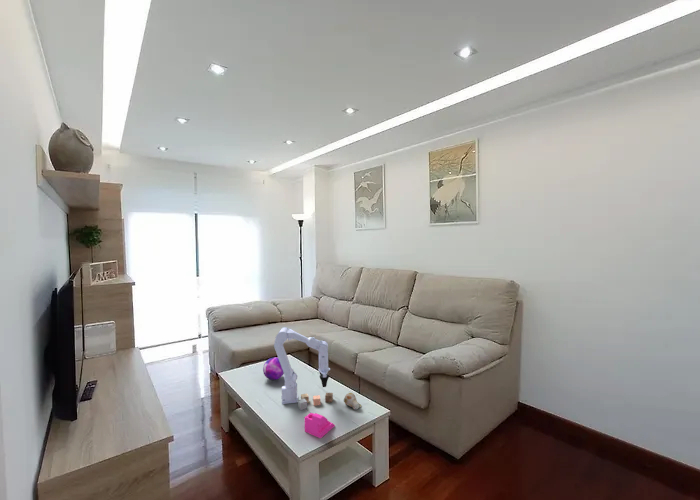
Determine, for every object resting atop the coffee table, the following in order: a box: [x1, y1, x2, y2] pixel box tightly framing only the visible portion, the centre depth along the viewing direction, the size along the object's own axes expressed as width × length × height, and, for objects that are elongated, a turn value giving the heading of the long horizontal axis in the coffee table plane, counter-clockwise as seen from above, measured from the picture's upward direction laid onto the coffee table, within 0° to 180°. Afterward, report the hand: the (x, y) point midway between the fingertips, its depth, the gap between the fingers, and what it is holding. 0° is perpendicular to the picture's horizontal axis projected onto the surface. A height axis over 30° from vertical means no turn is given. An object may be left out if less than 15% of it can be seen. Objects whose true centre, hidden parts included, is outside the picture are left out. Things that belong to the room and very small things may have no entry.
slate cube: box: [297, 398, 308, 411], centre depth 187 cm, size 4×4×4 cm
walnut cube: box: [324, 392, 334, 403], centre depth 195 cm, size 4×4×4 cm
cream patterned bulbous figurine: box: [343, 392, 362, 411], centre depth 188 cm, size 8×10×10 cm
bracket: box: [304, 412, 336, 439], centre depth 167 cm, size 12×10×10 cm
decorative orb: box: [262, 356, 284, 381], centre depth 224 cm, size 15×15×15 cm
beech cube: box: [300, 392, 310, 404], centre depth 194 cm, size 4×4×4 cm
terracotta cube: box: [312, 394, 322, 407], centre depth 191 cm, size 4×4×4 cm
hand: (323, 383), depth 195 cm, fingers open, 7 cm apart
